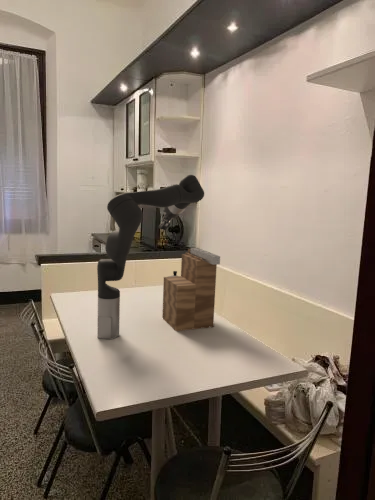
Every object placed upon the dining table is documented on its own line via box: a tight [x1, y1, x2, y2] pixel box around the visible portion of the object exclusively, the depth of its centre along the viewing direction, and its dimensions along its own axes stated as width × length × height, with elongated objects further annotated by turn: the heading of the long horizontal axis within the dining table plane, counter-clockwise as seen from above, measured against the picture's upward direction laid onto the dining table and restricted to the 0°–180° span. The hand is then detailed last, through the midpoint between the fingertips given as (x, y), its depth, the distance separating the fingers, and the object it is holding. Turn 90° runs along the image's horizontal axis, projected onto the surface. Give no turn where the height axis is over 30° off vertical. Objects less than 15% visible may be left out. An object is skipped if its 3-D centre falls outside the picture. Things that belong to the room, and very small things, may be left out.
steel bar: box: [190, 247, 221, 265], centre depth 180 cm, size 24×4×4 cm, turn 23°
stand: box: [161, 248, 218, 332], centre depth 186 cm, size 18×19×34 cm
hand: (163, 219), depth 178 cm, fingers open, 8 cm apart
